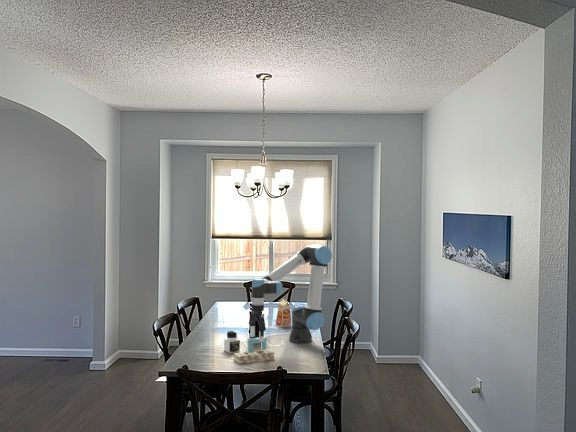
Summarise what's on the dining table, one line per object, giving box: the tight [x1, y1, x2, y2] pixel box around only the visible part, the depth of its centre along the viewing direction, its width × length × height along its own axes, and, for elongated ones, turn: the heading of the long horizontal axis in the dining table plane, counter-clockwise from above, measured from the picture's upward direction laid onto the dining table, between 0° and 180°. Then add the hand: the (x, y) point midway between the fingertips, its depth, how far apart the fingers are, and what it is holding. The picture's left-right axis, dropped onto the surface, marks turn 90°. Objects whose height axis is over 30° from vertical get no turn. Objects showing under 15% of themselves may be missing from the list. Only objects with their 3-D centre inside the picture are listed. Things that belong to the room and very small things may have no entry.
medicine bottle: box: [223, 330, 241, 354], centre depth 333 cm, size 7×7×12 cm
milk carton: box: [274, 298, 292, 328], centre depth 406 cm, size 9×9×20 cm
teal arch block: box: [247, 336, 268, 353], centre depth 331 cm, size 11×3×8 cm, turn 117°
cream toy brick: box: [233, 348, 275, 364], centre depth 315 cm, size 22×8×4 cm, turn 117°
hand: (256, 339), depth 331 cm, fingers open, 13 cm apart
